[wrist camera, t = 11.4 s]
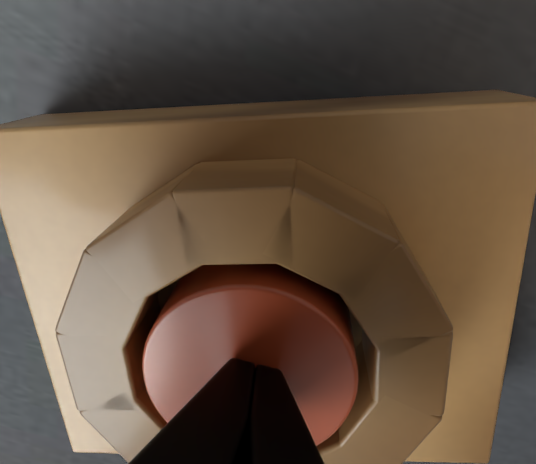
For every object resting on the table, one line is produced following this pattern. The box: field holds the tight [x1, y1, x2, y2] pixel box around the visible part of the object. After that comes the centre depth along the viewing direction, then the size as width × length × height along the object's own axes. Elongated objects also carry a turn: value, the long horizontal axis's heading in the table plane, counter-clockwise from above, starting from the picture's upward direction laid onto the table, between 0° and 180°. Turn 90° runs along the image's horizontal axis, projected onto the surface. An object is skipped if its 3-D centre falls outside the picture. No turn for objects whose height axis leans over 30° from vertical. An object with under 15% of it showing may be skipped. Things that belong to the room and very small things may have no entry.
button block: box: [0, 90, 536, 464], centre depth 9 cm, size 10×8×4 cm
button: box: [142, 264, 359, 446], centre depth 8 cm, size 4×4×2 cm
